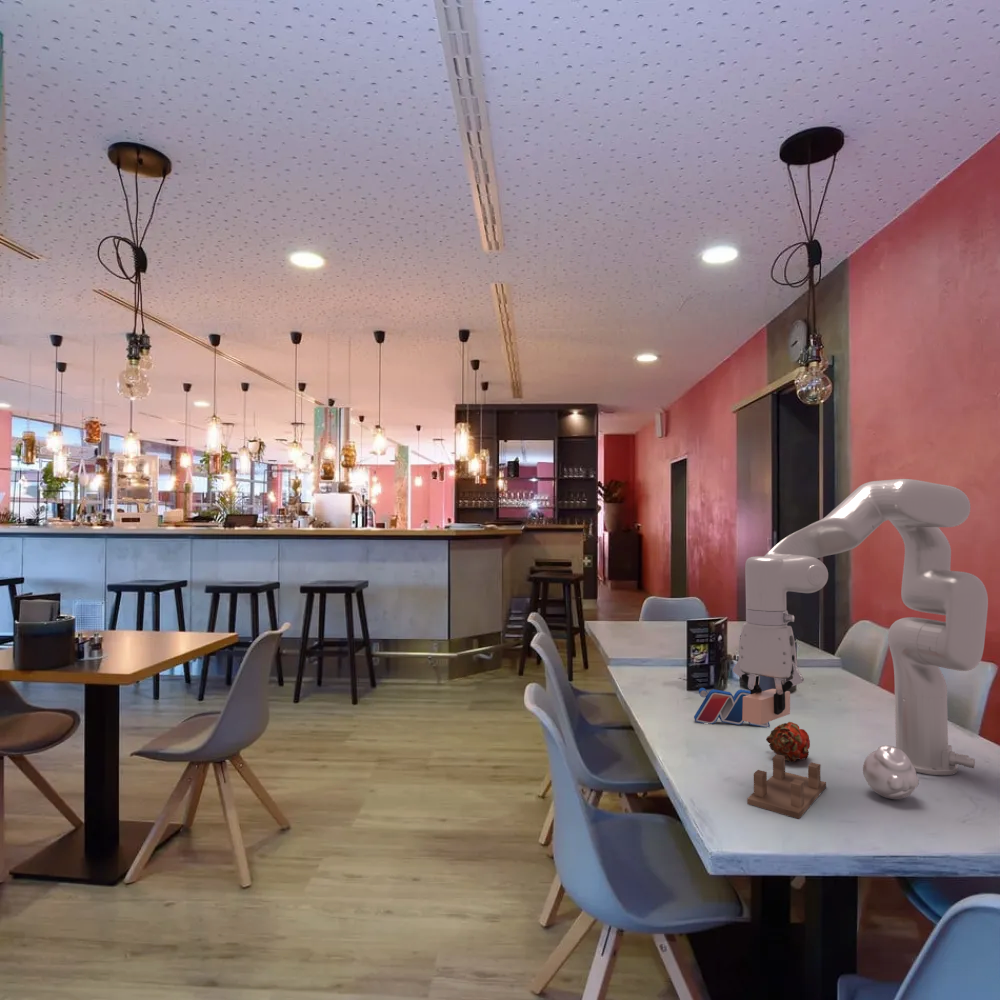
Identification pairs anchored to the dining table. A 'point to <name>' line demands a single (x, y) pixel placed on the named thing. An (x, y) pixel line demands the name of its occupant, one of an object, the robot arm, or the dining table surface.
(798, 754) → the dragon fruit
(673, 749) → the dining table surface
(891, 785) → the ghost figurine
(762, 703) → the clay strip
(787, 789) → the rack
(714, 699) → the logo
